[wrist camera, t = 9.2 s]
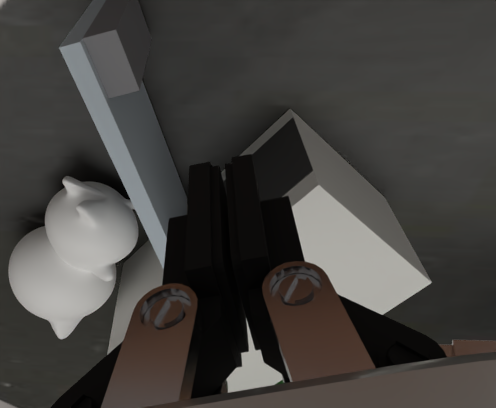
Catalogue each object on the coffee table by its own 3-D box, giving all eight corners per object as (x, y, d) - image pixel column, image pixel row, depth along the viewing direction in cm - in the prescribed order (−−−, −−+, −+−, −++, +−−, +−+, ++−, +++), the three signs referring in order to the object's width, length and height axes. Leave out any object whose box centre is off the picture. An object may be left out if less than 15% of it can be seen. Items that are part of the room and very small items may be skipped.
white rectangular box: (289, 107, 35) (321, 192, 26) (384, 197, 40) (436, 291, 31) (109, 275, 43) (87, 382, 34) (209, 330, 48) (212, 434, 40)
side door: (93, -1, 28) (58, 47, 21) (135, -13, 28) (114, 32, 21) (176, 205, 38) (172, 288, 31) (208, 198, 38) (211, 279, 31)
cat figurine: (81, 241, 28) (11, 358, 33) (207, 238, 36) (136, 333, 41) (34, 146, 32) (-21, 264, 37) (157, 163, 41) (98, 257, 46)
